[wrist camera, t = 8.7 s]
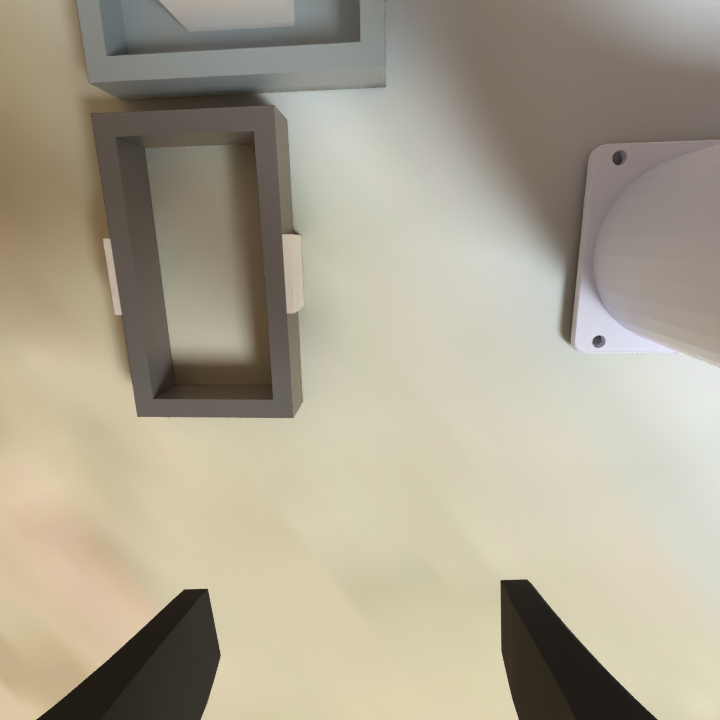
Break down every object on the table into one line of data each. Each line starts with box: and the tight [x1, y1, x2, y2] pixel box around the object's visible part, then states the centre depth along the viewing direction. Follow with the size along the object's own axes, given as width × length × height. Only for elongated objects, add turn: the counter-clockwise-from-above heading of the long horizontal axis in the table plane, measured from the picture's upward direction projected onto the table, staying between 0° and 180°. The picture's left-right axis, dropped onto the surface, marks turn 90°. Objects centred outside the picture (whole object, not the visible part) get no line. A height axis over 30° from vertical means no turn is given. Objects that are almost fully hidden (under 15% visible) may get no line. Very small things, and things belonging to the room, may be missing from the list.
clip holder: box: [91, 105, 304, 418], centre depth 19 cm, size 7×12×2 cm, turn 1°
